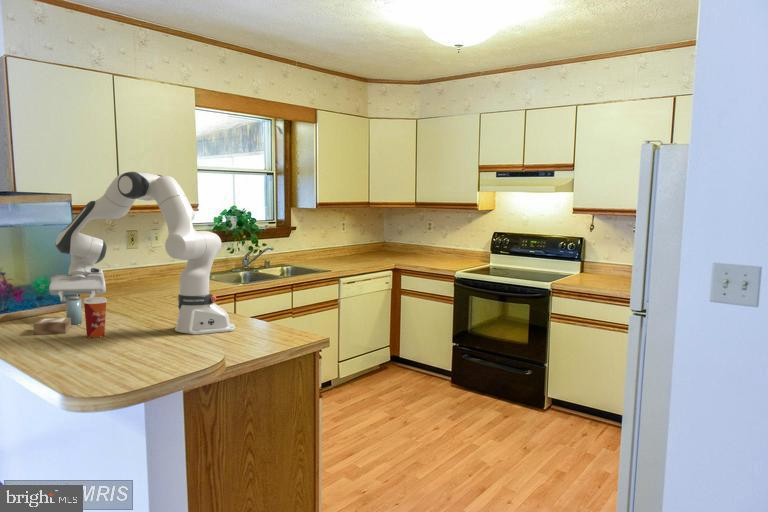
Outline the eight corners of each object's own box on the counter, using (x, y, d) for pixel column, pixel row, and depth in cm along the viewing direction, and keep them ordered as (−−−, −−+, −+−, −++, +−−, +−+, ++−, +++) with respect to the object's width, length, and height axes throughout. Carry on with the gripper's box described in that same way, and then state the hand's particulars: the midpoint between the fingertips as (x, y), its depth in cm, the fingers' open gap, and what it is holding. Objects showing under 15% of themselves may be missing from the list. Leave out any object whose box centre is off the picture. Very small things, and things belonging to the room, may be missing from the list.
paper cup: (97, 339, 184) (96, 300, 182) (78, 337, 185) (77, 299, 184) (112, 334, 191) (112, 297, 190) (94, 332, 193) (94, 296, 192)
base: (71, 327, 200) (70, 317, 200) (65, 333, 191) (65, 322, 190) (41, 328, 196) (40, 318, 196) (33, 334, 187) (33, 323, 187)
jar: (82, 322, 209) (82, 295, 208) (80, 325, 204) (79, 297, 203) (68, 323, 207) (67, 296, 206) (65, 326, 202) (64, 298, 201)
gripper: (50, 270, 211) (44, 297, 203) (106, 269, 218) (103, 296, 210) (53, 279, 215) (47, 306, 207) (108, 278, 223) (104, 304, 214)
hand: (76, 301), depth 208 cm, fingers open, 8 cm apart
